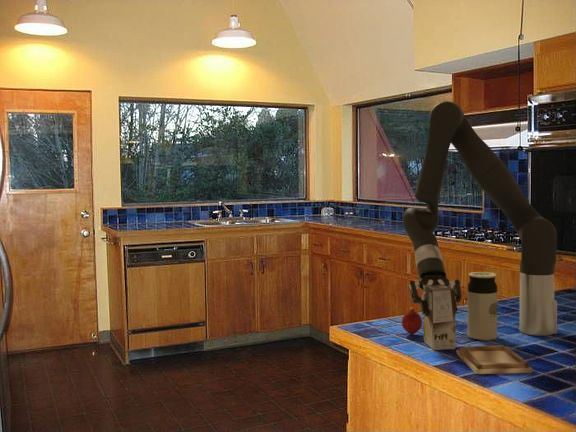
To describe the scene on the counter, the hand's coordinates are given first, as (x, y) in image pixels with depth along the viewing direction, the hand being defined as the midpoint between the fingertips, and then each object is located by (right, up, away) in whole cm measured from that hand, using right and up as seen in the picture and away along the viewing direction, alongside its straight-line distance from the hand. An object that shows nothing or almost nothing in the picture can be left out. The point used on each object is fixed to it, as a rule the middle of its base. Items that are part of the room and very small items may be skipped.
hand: (440, 314), depth 163 cm
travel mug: (+14, -8, +9) cm, 19 cm away
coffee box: (0, -9, +2) cm, 9 cm away
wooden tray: (+9, -10, -14) cm, 19 cm away
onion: (-5, -8, +13) cm, 16 cm away
